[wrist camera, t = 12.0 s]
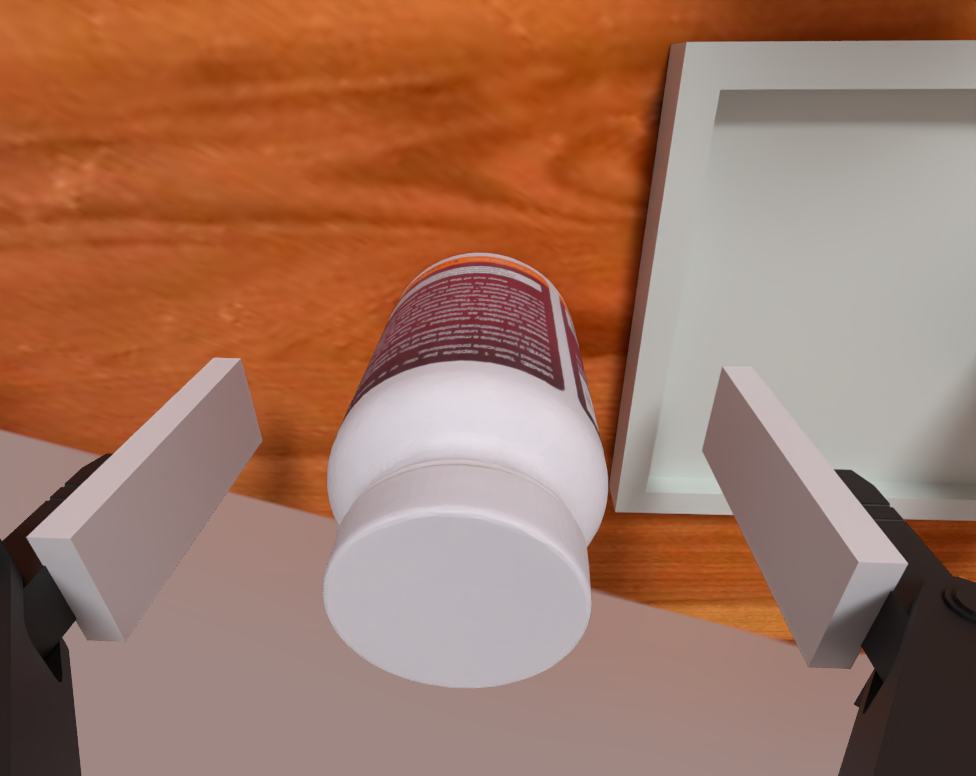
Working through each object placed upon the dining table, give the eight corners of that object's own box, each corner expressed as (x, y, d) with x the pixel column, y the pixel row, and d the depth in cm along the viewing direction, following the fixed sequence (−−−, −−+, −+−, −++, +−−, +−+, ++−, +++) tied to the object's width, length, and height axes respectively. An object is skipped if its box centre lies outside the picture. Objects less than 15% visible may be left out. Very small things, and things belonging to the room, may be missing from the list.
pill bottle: (357, 337, 19) (202, 606, 10) (477, 205, 17) (431, 390, 7) (486, 440, 21) (465, 747, 12) (611, 335, 19) (714, 615, 9)
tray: (608, 485, 22) (615, 512, 21) (671, 44, 14) (686, 41, 13) (1128, 497, 21) (1168, 525, 20) (1482, 39, 14) (1585, 36, 12)
